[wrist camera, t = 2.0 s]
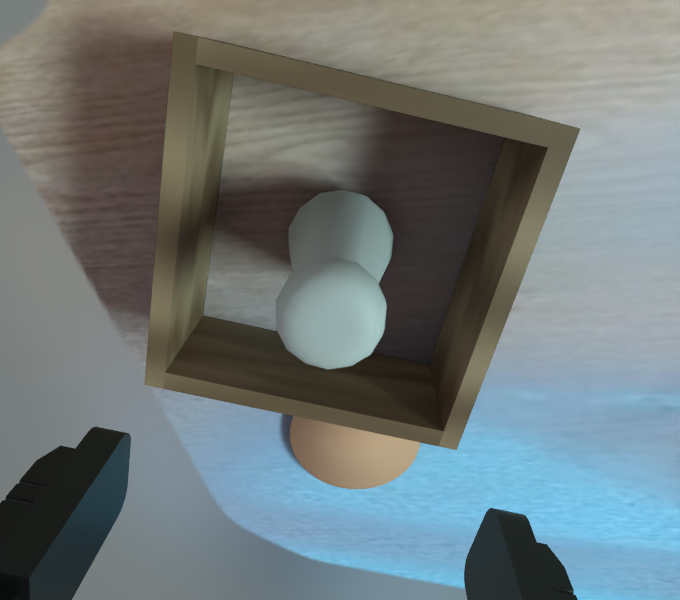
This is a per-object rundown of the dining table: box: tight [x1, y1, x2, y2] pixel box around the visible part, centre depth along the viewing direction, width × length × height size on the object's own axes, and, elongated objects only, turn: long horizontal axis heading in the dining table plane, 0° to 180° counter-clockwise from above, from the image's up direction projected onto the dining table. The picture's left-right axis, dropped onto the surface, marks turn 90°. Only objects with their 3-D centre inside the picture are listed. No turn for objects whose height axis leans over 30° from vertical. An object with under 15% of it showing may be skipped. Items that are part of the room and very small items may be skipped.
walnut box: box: [144, 31, 580, 450], centre depth 28 cm, size 17×17×7 cm
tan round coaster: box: [290, 416, 420, 489], centre depth 37 cm, size 9×9×1 cm
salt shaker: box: [276, 190, 393, 370], centre depth 25 cm, size 6×6×13 cm
